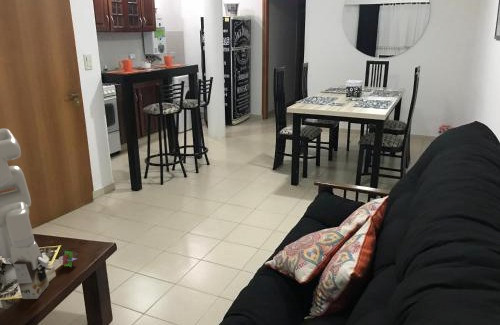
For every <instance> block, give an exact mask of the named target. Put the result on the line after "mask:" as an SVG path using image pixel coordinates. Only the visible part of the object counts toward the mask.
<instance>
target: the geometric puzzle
mask: <svg viewBox="0 0 500 325" xmlns="http://www.w3.org/2000/svg"><path fill="white" fill-rule="evenodd" d="M63 253H64V254H63V255H62V256H61V255H60V256H59V257H58V263H59V264H60V265H62V266H63V265H64V266H63V267H68V266H69V267H68V268H73V263H74V261H76V260H77V257H76V258H74V255H75V253H74V252H73V251H71V250H70V251H68V250H64V252H63Z"/></svg>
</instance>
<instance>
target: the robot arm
mask: <svg viewBox="0 0 500 325" xmlns="http://www.w3.org/2000/svg"><path fill="white" fill-rule="evenodd" d="M21 150H22V149H21V146H20V144H19V141H18V140H17V138H16V137H15V135H14V134H13V133H12V132H11V131H10V129H8V128H4V127H3V128H0V192H1V191H5V190H9V189H12V188H14V190H9V191H5V192H1V193H0V256H2V258H10V259H9V260H8V261H9V262H10V263H11V264H10V265H11V266H12V267H13V268H14V263H15V262H16V261H22V262H30V263H31V266H32V270H35V269H36V270H37V271H38V272H39V273H38V277H39V281H40V282H42V281H43V280H44V279H45V278H46V273H45V269H46V268H47V267H48V265H49V263H50V262H49V261H48V260H46V259H44V257H43V255H42V256H41V253H40V250H41V249H40V247H39V245H38V243H37V241H36V240H35V236H34V233H33V232H34V231H33V228H32V224H31V220H30V216H29V215H30V208H29V207H31V206H32V200H31V199H32V198H31V195H30V191H29V188H28V184H27V181H26V180H27V179H26V177H25V174H24V172H23V170H22V168H21V167H20V166H18V165H9V164H8V161H12V160H17V159H19V158H20V157H21V156H22V151H21ZM42 257H43V258H42ZM38 266H40V267H41V269H40V268H39V267H38Z"/></svg>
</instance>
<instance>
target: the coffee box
mask: <svg viewBox="0 0 500 325" xmlns="http://www.w3.org/2000/svg"><path fill="white" fill-rule="evenodd" d="M40 253H41V256H42V258H43V259H44V257H43V254H42V251H40ZM38 267H39V268H40V269H41V267H40V266H38ZM13 268H14V272H15V275H16V280H17V283H18V287H19V291H20V295H21V298H22V300H35V299H39V298H40V296H41V295H42V294H43V293H44V292H45V290H46V289H47V288H48V287H49V285H50V282H48V278H47V274H46V278H45V279H44V280H43V281H42V282H40V281H39V277H38V273H39V272H38V271H37V270H36V269H35V270H32V266H31V263H30V262H22V261H16V262H15V263H14V267H13ZM45 273H46V270H45Z"/></svg>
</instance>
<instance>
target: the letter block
mask: <svg viewBox="0 0 500 325" xmlns="http://www.w3.org/2000/svg"><path fill="white" fill-rule="evenodd" d="M45 270H46V274H47V278H48V282H49V283H50V282H51V281H52V280H53V279H54V278H55V277H56V276H57V275H56V271H55V270H56V269H55V265H51V264H50V265H49V264H48V267H47V268H46V269H45Z"/></svg>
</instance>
